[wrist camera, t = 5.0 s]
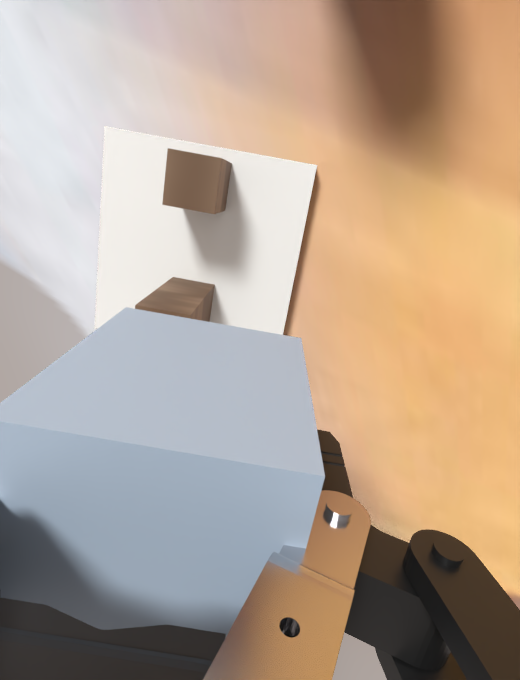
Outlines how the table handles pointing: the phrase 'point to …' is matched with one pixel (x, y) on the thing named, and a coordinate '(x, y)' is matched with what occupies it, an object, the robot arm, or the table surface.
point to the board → (200, 231)
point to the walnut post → (181, 299)
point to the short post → (196, 181)
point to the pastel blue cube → (157, 472)
